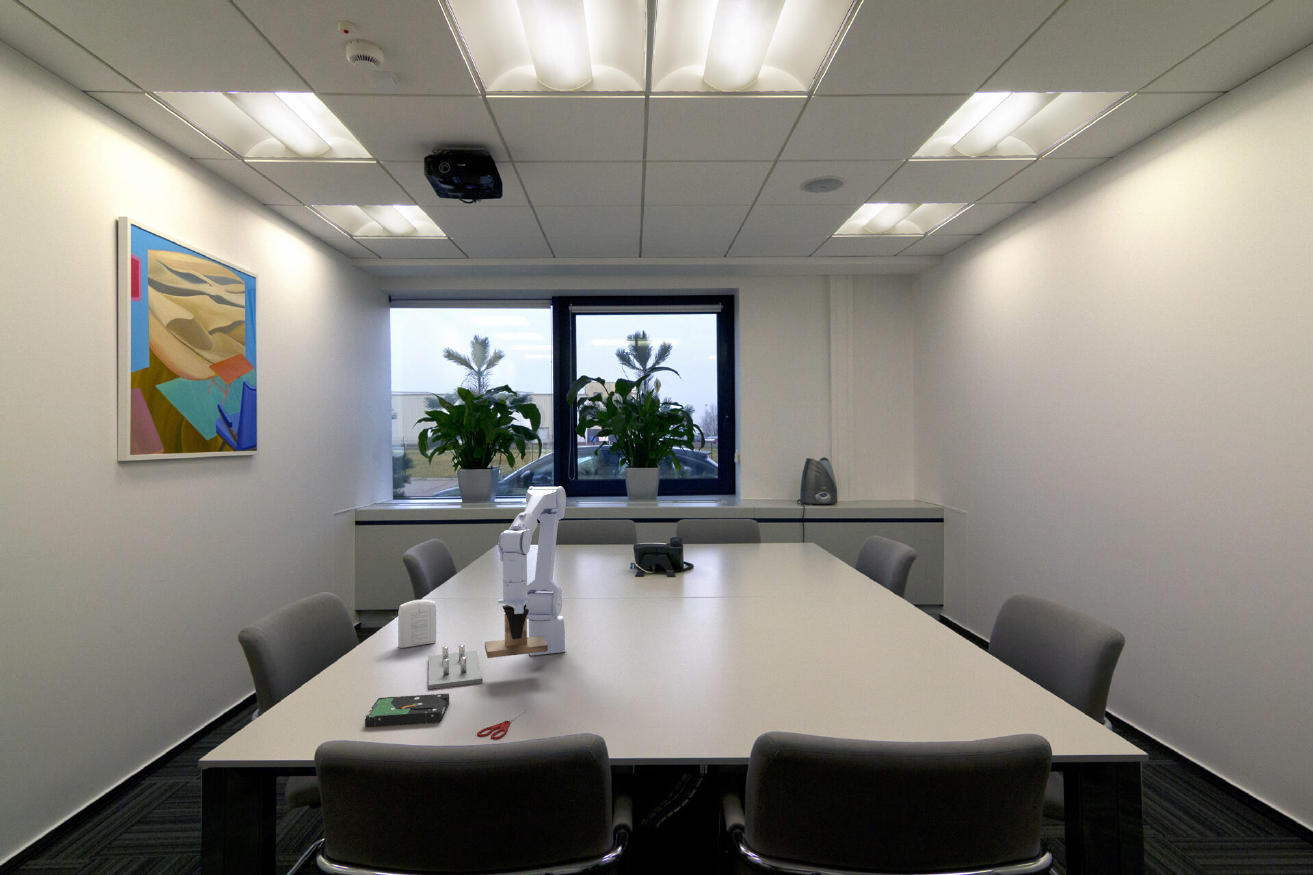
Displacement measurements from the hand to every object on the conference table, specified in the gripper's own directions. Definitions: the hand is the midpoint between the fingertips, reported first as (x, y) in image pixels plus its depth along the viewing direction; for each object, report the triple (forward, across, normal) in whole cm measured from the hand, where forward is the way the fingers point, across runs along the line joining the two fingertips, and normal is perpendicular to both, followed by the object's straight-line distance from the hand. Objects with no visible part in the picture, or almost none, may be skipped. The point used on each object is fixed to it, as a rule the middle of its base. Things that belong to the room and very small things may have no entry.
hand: (515, 636), depth 162 cm
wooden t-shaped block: (+3, 0, 0) cm, 3 cm away
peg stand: (+9, -9, -14) cm, 19 cm away
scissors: (+10, +27, -5) cm, 29 cm away
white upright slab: (+10, -35, -23) cm, 43 cm away
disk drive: (+10, +16, -24) cm, 30 cm away
